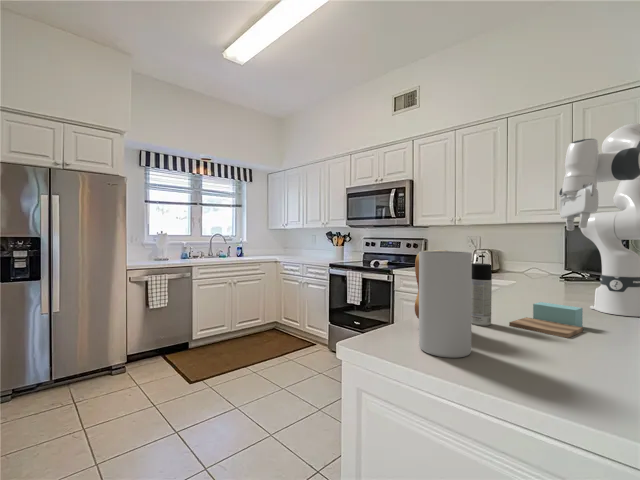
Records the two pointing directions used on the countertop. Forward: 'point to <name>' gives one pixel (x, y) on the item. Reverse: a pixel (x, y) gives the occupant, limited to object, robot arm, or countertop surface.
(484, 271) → the spray can
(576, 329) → the board
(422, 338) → the cylinder vase
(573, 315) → the pale blue tall prism
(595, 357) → the countertop surface
